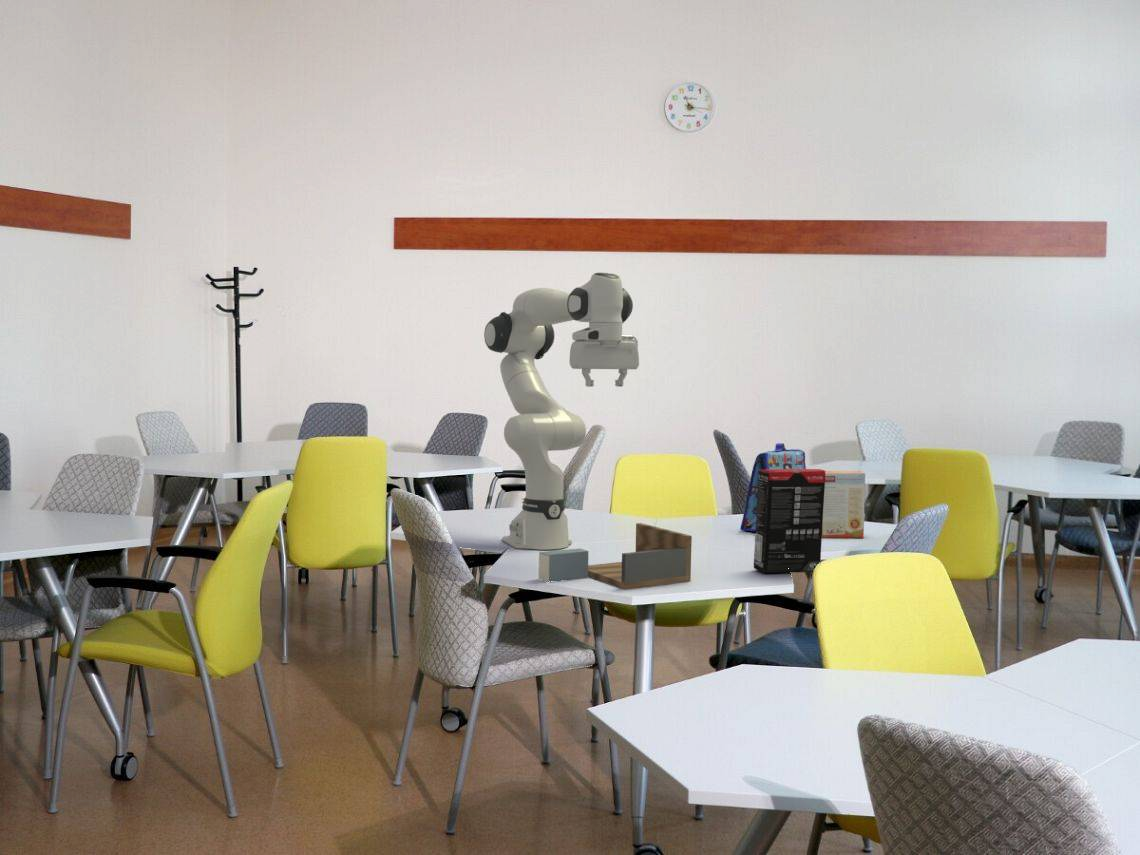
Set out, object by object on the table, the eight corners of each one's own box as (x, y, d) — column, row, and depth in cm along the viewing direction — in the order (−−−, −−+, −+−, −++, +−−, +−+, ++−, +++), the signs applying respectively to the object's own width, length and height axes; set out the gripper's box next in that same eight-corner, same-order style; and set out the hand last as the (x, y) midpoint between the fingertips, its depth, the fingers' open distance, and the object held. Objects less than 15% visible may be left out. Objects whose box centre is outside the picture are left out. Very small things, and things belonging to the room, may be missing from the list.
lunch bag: (772, 536, 330) (775, 445, 328) (739, 530, 341) (741, 442, 339) (813, 530, 345) (816, 443, 343) (780, 524, 355) (783, 440, 353)
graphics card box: (809, 567, 283) (813, 467, 281) (823, 572, 276) (826, 470, 274) (752, 570, 278) (755, 468, 276) (765, 575, 271) (768, 471, 269)
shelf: (576, 572, 271) (577, 528, 270) (639, 565, 281) (640, 523, 280) (624, 589, 252) (625, 542, 251) (690, 581, 262) (691, 535, 262)
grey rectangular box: (538, 579, 261) (539, 552, 261) (579, 575, 268) (579, 548, 267) (546, 583, 258) (547, 555, 257) (588, 578, 264) (588, 551, 264)
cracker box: (858, 535, 336) (860, 470, 334) (863, 538, 330) (866, 472, 328) (814, 534, 335) (817, 470, 334) (819, 538, 329) (822, 472, 328)
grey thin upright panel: (621, 581, 253) (622, 553, 253) (682, 574, 263) (682, 547, 262) (624, 583, 252) (625, 554, 251) (685, 575, 261) (686, 548, 261)
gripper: (630, 335, 285) (629, 386, 286) (566, 333, 274) (565, 386, 275) (644, 335, 279) (643, 386, 280) (579, 333, 269) (578, 387, 270)
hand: (604, 386), depth 278 cm, fingers open, 8 cm apart
